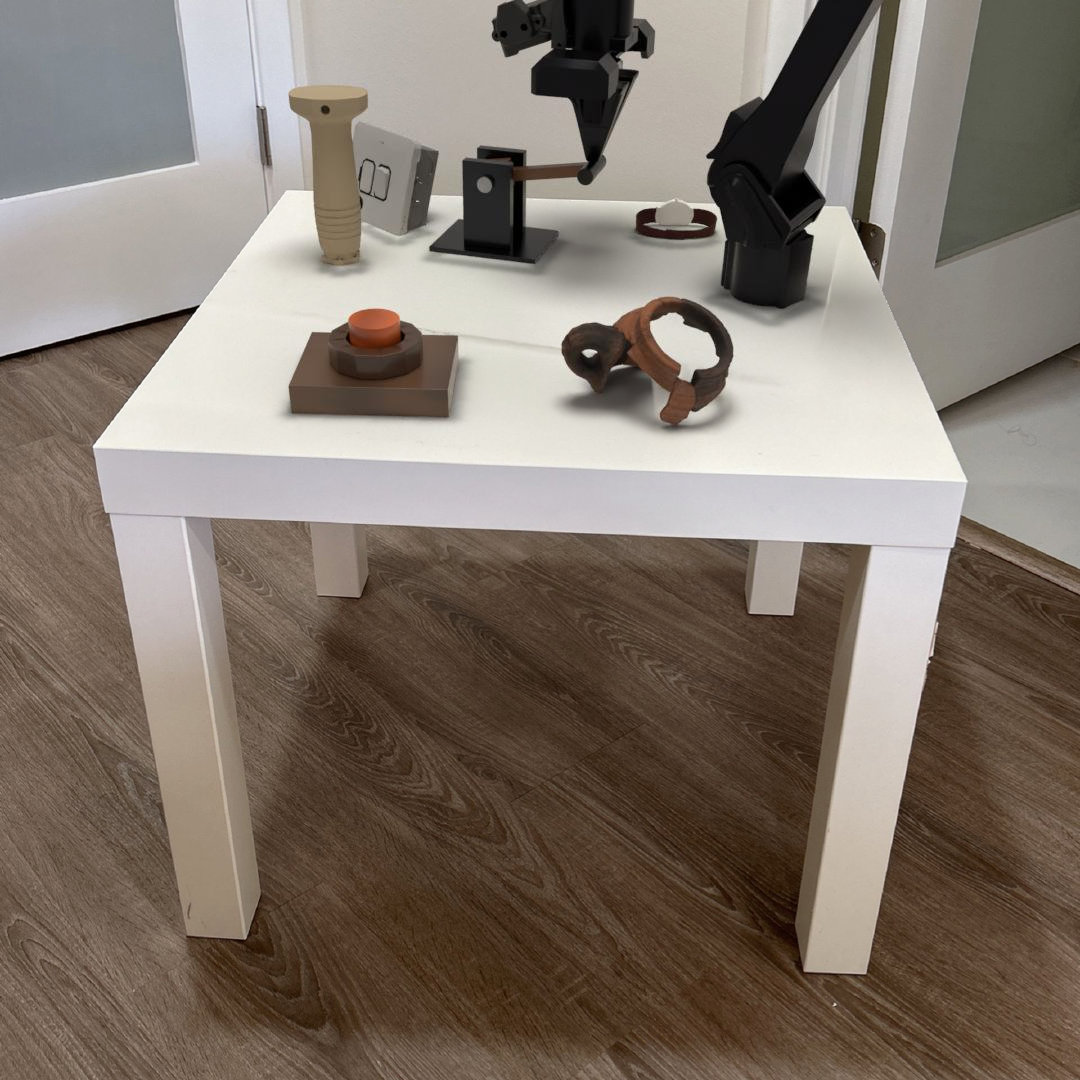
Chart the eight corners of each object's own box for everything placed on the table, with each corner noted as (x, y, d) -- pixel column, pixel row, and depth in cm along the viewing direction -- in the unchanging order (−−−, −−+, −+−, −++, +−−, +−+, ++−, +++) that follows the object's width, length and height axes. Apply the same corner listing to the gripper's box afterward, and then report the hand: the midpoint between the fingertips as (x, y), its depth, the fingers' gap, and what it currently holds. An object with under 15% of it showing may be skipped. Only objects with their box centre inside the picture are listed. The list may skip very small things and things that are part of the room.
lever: (608, 174, 105) (605, 146, 104) (594, 190, 101) (591, 162, 100) (491, 181, 109) (486, 155, 107) (473, 197, 105) (468, 170, 103)
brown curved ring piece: (675, 362, 91) (728, 291, 85) (701, 463, 87) (759, 397, 80) (533, 342, 87) (577, 265, 80) (552, 448, 82) (601, 376, 76)
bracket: (558, 242, 112) (561, 148, 107) (534, 272, 105) (536, 173, 100) (458, 230, 114) (456, 137, 109) (429, 259, 107) (425, 161, 102)
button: (403, 331, 86) (402, 308, 85) (397, 352, 83) (396, 329, 82) (354, 330, 86) (352, 307, 85) (346, 351, 83) (344, 328, 82)
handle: (375, 277, 104) (364, 100, 95) (302, 276, 103) (284, 99, 95) (380, 257, 108) (370, 85, 99) (309, 256, 107) (293, 84, 99)
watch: (711, 231, 115) (715, 194, 113) (718, 248, 111) (722, 210, 109) (632, 230, 115) (634, 193, 113) (636, 247, 111) (639, 209, 109)
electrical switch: (339, 219, 116) (340, 121, 111) (382, 213, 119) (384, 117, 114) (397, 245, 110) (400, 143, 106) (440, 238, 114) (445, 138, 109)
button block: (458, 362, 90) (457, 312, 88) (448, 418, 82) (447, 365, 80) (314, 358, 90) (309, 309, 88) (291, 414, 82) (285, 361, 80)
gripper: (535, -58, 103) (534, 125, 112) (465, -26, 88) (469, 183, 97) (661, -52, 100) (649, 136, 109) (611, -17, 85) (602, 196, 94)
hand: (593, 160), depth 102 cm, fingers closed, pressing on lever
